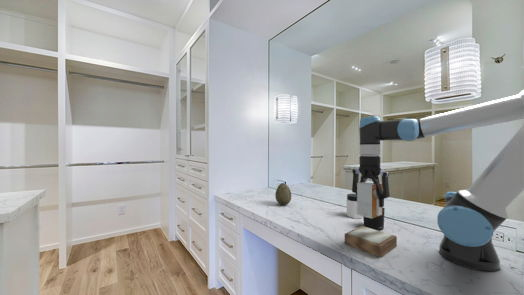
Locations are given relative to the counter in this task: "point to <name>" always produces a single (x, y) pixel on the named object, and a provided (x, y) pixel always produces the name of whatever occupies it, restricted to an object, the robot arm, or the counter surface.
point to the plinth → (371, 241)
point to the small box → (367, 199)
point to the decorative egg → (283, 194)
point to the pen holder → (375, 222)
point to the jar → (352, 206)
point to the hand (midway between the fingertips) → (369, 212)
